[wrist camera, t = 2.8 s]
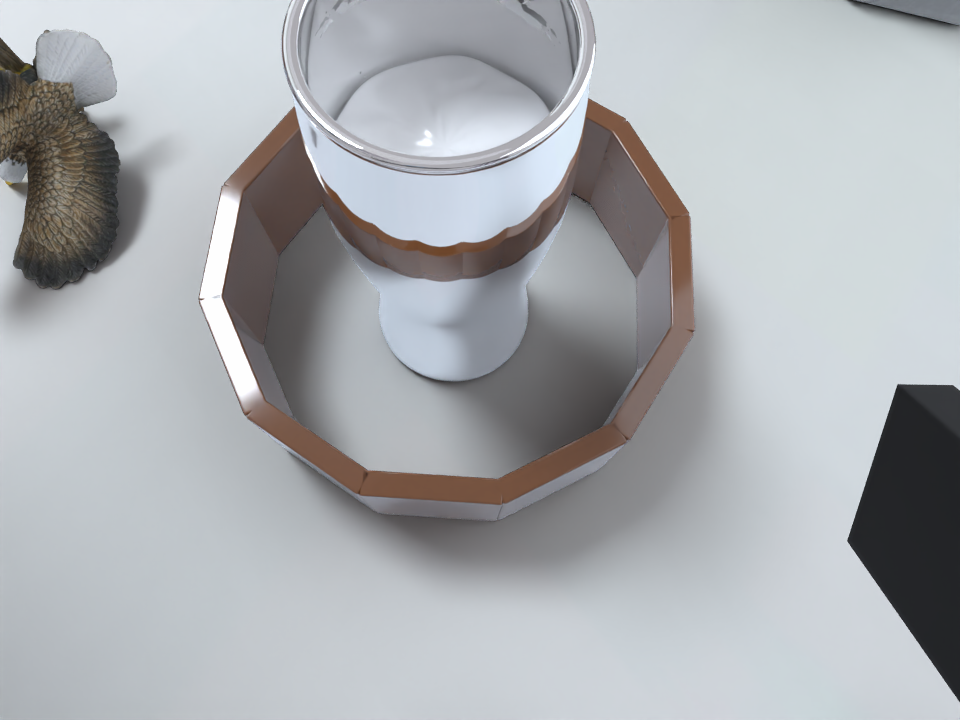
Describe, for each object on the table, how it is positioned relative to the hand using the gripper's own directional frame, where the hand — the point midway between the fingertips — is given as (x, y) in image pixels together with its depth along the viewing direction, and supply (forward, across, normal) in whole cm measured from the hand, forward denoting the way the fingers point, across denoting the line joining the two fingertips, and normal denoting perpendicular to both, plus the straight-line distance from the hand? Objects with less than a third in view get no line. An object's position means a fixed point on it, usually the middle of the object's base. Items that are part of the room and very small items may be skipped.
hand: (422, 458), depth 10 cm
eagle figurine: (+22, -17, -2) cm, 28 cm away
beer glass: (+18, 0, -5) cm, 19 cm away
